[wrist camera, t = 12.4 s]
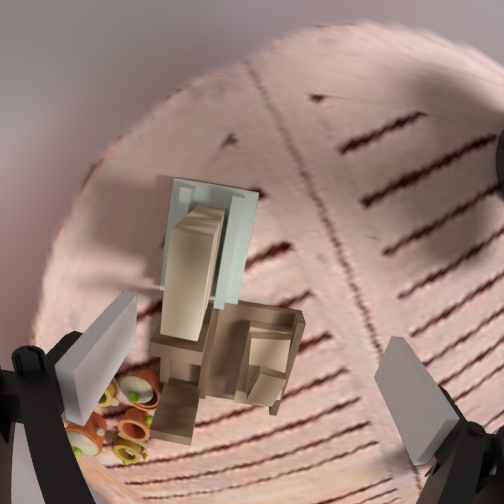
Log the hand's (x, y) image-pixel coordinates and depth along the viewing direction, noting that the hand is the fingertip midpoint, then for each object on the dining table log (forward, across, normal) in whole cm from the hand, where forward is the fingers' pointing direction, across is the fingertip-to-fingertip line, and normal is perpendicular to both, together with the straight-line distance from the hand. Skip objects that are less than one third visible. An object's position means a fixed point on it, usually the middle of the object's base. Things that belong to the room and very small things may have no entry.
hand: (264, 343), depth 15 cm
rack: (+25, -1, -17) cm, 30 cm away
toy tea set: (+25, -18, -34) cm, 46 cm away
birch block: (+23, -6, -2) cm, 24 cm away
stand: (+24, -6, -2) cm, 25 cm away
